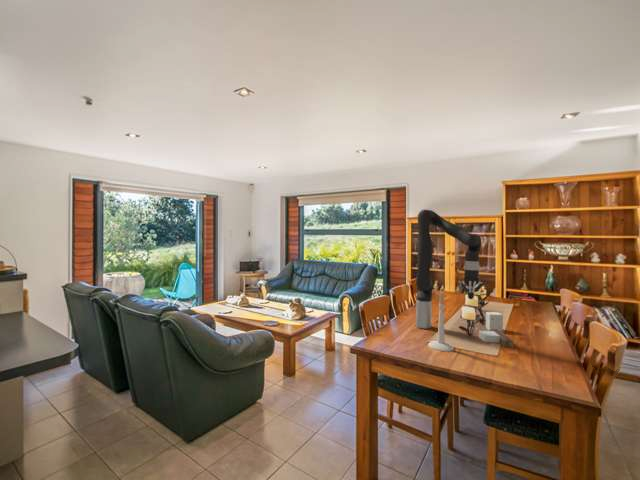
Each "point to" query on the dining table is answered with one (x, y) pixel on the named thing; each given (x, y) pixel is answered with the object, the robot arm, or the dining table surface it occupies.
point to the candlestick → (441, 331)
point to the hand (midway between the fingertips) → (470, 298)
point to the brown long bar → (503, 338)
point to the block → (489, 336)
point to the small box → (494, 321)
